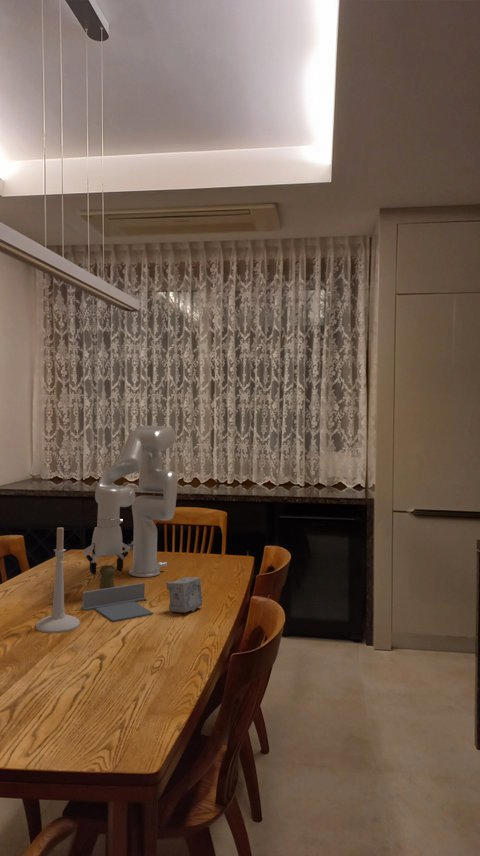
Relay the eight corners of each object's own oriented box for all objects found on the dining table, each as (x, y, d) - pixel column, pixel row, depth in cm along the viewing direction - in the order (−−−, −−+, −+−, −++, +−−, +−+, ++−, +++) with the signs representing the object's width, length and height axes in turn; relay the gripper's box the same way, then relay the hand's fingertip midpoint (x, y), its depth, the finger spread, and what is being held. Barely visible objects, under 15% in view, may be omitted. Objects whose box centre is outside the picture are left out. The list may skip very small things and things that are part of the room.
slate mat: (133, 603, 204) (133, 601, 204) (153, 614, 192) (153, 612, 192) (94, 609, 195) (94, 608, 195) (112, 622, 184) (112, 620, 184)
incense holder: (183, 604, 205) (184, 573, 204) (203, 608, 200) (203, 577, 200) (165, 611, 196) (165, 579, 196) (185, 616, 192) (186, 584, 192)
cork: (117, 595, 212) (118, 564, 212) (112, 600, 206) (113, 568, 206) (101, 594, 213) (101, 563, 213) (95, 599, 207) (96, 567, 207)
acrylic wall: (140, 597, 210) (141, 581, 210) (146, 600, 207) (146, 584, 207) (80, 607, 197) (81, 590, 197) (85, 611, 194) (85, 593, 194)
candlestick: (88, 621, 184) (90, 524, 184) (63, 635, 172) (65, 531, 172) (53, 616, 188) (55, 521, 188) (26, 629, 176) (28, 528, 176)
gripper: (126, 520, 217) (124, 567, 217) (80, 523, 207) (78, 572, 207) (135, 523, 211) (133, 571, 211) (88, 526, 201) (86, 577, 201)
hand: (106, 572), depth 209 cm, fingers open, 9 cm apart
